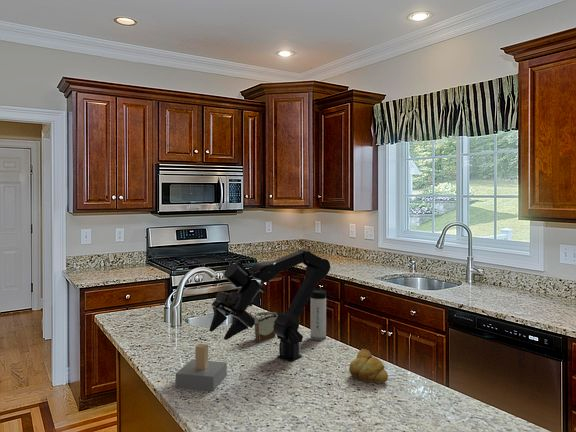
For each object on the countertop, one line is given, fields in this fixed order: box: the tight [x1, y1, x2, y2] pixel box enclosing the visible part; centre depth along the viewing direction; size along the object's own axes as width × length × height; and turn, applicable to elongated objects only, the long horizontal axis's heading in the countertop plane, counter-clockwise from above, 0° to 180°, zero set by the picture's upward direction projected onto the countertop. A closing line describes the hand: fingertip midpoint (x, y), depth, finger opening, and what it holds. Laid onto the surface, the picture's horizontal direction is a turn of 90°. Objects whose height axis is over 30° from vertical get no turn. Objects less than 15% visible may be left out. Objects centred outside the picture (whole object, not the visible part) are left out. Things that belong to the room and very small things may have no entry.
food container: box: [252, 311, 278, 344], centre depth 190 cm, size 12×6×10 cm, turn 141°
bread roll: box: [348, 348, 389, 384], centre depth 149 cm, size 13×10×8 cm
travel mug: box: [310, 287, 327, 341], centre depth 190 cm, size 6×7×20 cm
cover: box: [175, 343, 228, 392], centre depth 146 cm, size 12×12×11 cm
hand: (217, 335), depth 151 cm, fingers open, 9 cm apart
